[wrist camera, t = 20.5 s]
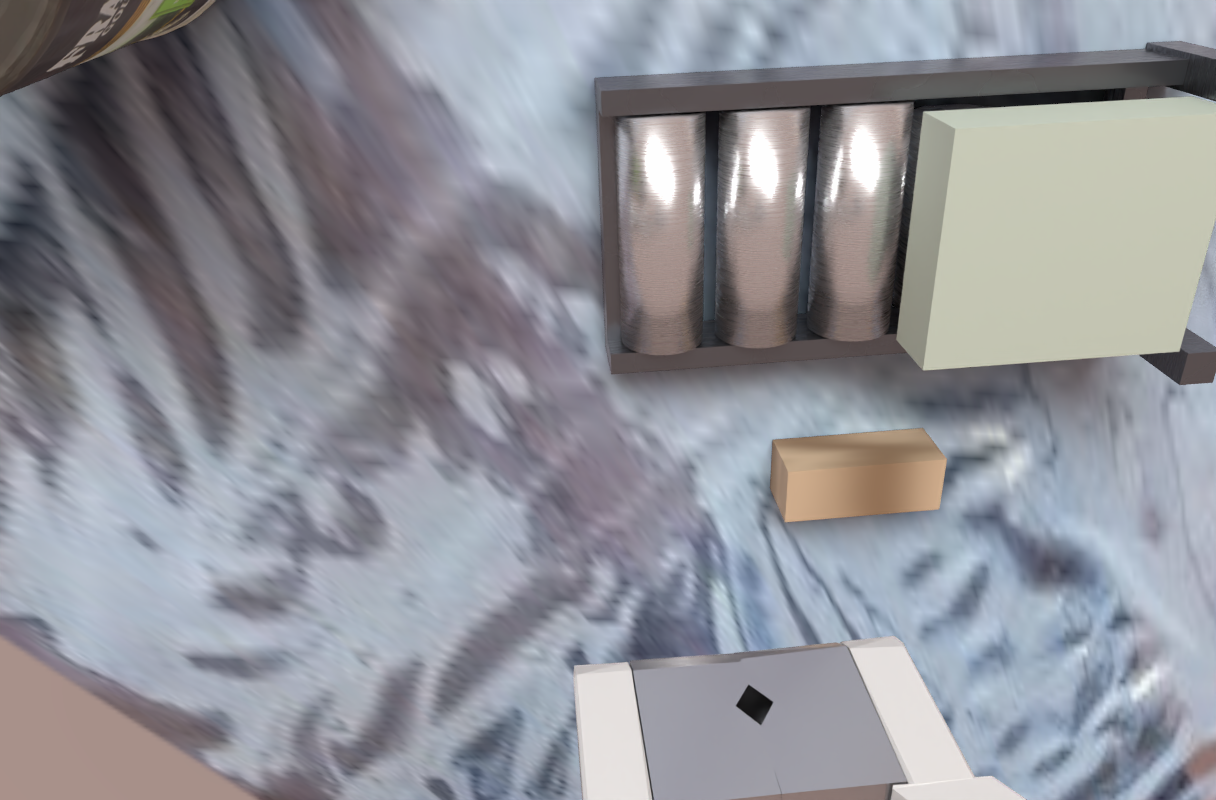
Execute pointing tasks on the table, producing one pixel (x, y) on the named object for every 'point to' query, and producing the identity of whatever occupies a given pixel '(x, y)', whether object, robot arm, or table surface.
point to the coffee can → (79, 32)
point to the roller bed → (803, 199)
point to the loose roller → (910, 189)
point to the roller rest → (856, 474)
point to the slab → (1057, 231)
